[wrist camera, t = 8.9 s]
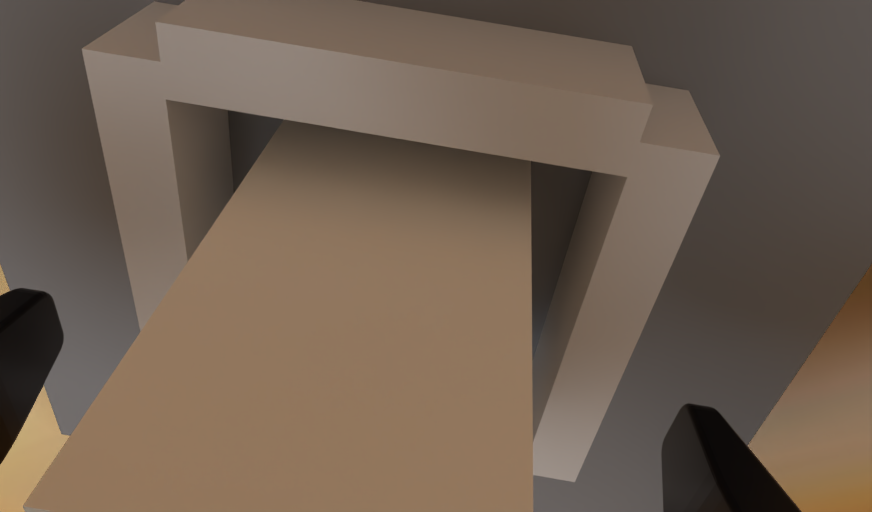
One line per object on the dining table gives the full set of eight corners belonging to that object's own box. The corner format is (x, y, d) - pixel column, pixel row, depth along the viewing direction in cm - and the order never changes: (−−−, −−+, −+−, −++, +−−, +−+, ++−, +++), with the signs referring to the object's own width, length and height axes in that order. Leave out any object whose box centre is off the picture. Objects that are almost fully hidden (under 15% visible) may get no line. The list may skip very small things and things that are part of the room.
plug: (531, 154, 11) (535, 715, 4) (490, 332, 13) (454, 851, 7) (286, 116, 11) (-49, 611, 4) (290, 299, 13) (78, 784, 7)
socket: (1152, -250, 8) (1433, -253, 5) (674, 506, 17) (697, 624, 15) (-189, -463, 8) (-501, -560, 5) (82, 403, 18) (12, 504, 15)
